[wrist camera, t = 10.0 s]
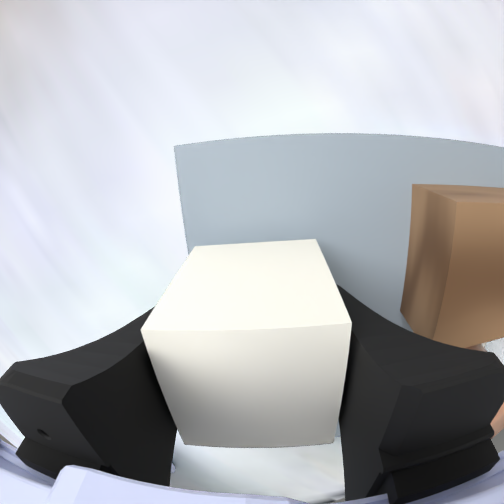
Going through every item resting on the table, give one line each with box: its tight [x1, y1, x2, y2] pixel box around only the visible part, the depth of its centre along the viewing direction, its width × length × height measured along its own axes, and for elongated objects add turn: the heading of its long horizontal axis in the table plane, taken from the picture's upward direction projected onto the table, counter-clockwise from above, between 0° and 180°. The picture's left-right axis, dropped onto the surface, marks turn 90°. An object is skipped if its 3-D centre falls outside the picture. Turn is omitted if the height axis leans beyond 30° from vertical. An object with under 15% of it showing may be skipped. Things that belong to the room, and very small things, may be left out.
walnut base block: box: [400, 184, 504, 348], centre depth 10 cm, size 6×6×4 cm
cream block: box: [141, 239, 352, 448], centre depth 9 cm, size 4×4×6 cm
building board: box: [174, 133, 504, 437], centre depth 14 cm, size 18×16×1 cm
